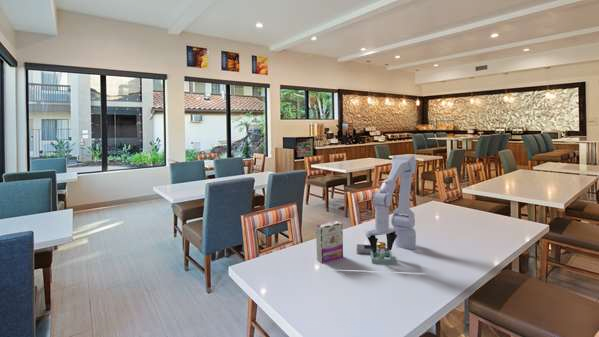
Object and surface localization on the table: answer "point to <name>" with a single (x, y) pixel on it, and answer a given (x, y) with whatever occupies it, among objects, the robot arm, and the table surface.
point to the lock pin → (381, 250)
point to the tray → (382, 261)
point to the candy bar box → (329, 241)
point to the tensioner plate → (366, 249)
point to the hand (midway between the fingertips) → (381, 250)
